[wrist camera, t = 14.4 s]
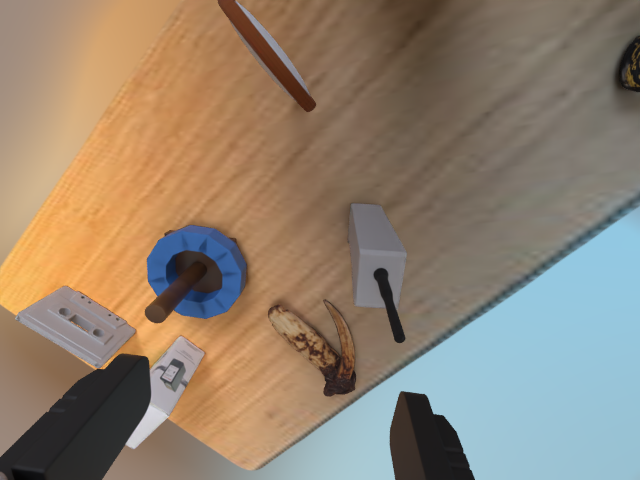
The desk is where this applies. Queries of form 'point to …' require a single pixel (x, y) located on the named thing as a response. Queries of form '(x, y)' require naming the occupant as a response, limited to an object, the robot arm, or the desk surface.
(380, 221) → the vintage mobile phone
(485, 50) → the desk surface
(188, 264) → the peg stand
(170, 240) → the tape roll
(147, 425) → the ink box
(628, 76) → the rubber snake
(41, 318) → the cassette
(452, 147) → the desk surface
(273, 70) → the magnifying glass
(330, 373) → the lashed bone hook
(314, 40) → the desk surface
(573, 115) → the desk surface
